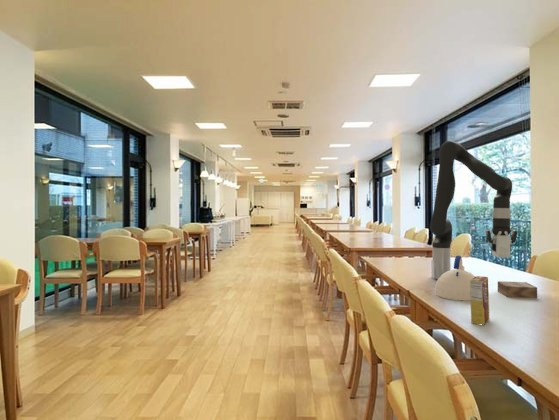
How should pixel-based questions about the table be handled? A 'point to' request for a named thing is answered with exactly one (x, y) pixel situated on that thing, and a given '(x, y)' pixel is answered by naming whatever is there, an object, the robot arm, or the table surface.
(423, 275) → the table surface
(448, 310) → the table surface
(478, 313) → the candy box
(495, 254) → the small box
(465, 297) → the kettle
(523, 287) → the walnut block
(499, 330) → the table surface
